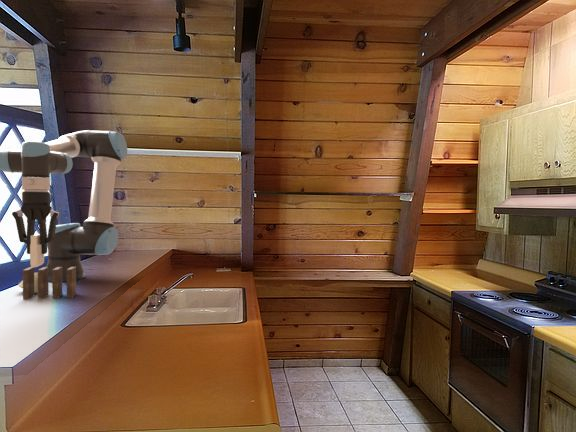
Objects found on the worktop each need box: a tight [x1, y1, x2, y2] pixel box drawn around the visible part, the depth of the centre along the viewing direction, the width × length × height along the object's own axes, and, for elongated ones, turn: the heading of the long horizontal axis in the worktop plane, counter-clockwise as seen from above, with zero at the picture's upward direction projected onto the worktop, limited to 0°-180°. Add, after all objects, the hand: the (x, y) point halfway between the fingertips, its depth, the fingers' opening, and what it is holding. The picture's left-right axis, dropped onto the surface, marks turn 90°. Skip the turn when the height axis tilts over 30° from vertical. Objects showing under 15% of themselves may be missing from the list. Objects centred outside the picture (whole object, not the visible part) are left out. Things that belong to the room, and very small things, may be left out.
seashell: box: [18, 271, 38, 294], centre depth 141 cm, size 8×8×8 cm
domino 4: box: [51, 267, 63, 299], centre depth 136 cm, size 2×5×10 cm, turn 13°
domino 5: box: [66, 267, 77, 299], centre depth 137 cm, size 2×5×10 cm, turn 13°
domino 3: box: [37, 266, 50, 299], centre depth 135 cm, size 2×5×10 cm, turn 14°
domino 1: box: [22, 266, 35, 300], centre depth 134 cm, size 2×5×10 cm, turn 13°
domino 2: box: [30, 233, 43, 268], centre depth 124 cm, size 2×5×10 cm, turn 14°
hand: (37, 263), depth 125 cm, fingers closed on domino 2, 2 cm apart
